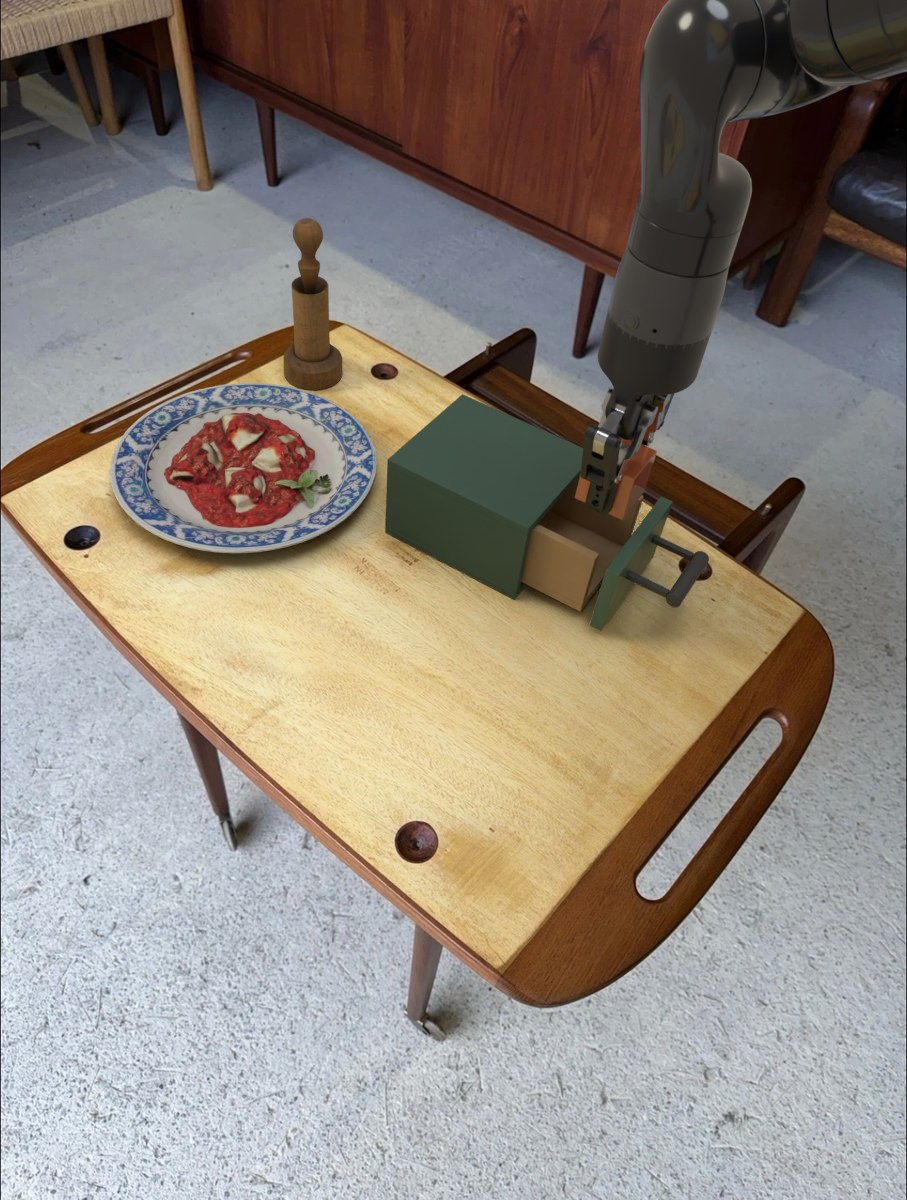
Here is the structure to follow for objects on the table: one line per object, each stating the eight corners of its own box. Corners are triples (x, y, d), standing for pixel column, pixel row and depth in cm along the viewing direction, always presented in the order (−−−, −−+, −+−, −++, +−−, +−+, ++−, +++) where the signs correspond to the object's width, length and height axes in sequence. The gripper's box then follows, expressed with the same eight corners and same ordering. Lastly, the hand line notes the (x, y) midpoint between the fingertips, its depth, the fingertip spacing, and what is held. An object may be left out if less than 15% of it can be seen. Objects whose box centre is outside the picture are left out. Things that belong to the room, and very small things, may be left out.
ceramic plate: (57, 481, 88) (50, 457, 85) (249, 371, 102) (247, 348, 100) (246, 611, 79) (242, 589, 76) (427, 470, 93) (428, 447, 91)
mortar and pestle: (304, 397, 100) (296, 242, 86) (273, 368, 103) (261, 214, 90) (353, 378, 103) (353, 226, 90) (322, 351, 106) (317, 200, 93)
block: (644, 491, 77) (657, 450, 74) (622, 520, 75) (634, 479, 71) (597, 470, 79) (608, 429, 75) (574, 498, 76) (584, 456, 73)
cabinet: (577, 524, 90) (595, 453, 83) (514, 600, 82) (528, 528, 75) (454, 466, 94) (462, 393, 87) (384, 532, 87) (387, 459, 80)
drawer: (703, 582, 84) (727, 525, 79) (654, 659, 78) (676, 603, 72) (531, 500, 90) (542, 442, 85) (471, 565, 83) (479, 507, 78)
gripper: (670, 377, 58) (614, 560, 71) (745, 290, 67) (683, 467, 79) (568, 335, 61) (532, 520, 73) (654, 257, 69) (608, 434, 82)
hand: (611, 492), depth 76 cm, fingers closed on block, 4 cm apart
